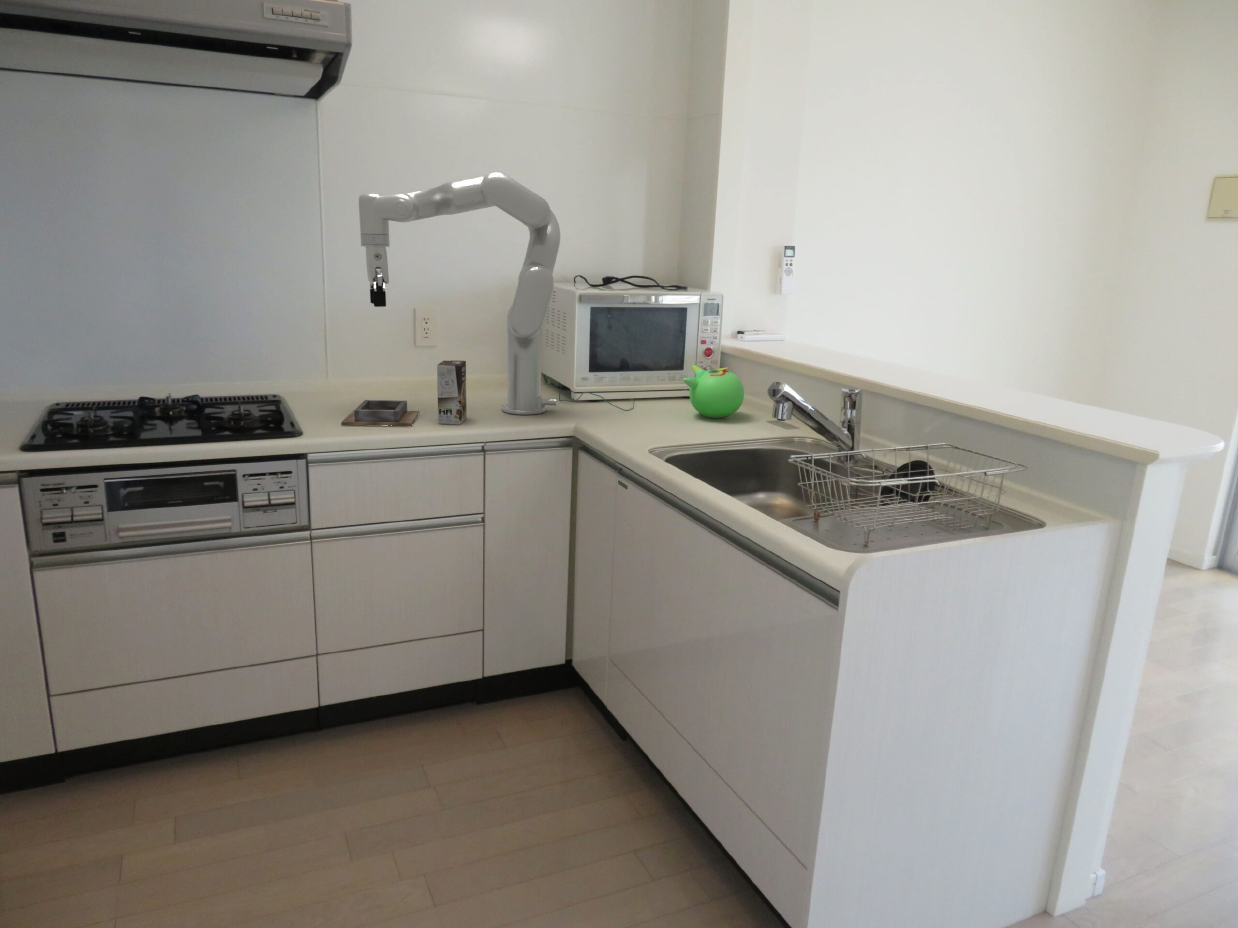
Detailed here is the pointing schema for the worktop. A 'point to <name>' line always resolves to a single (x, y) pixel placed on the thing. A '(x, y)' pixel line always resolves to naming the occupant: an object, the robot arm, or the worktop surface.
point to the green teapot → (715, 392)
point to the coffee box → (451, 392)
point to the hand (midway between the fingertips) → (378, 305)
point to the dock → (381, 414)
